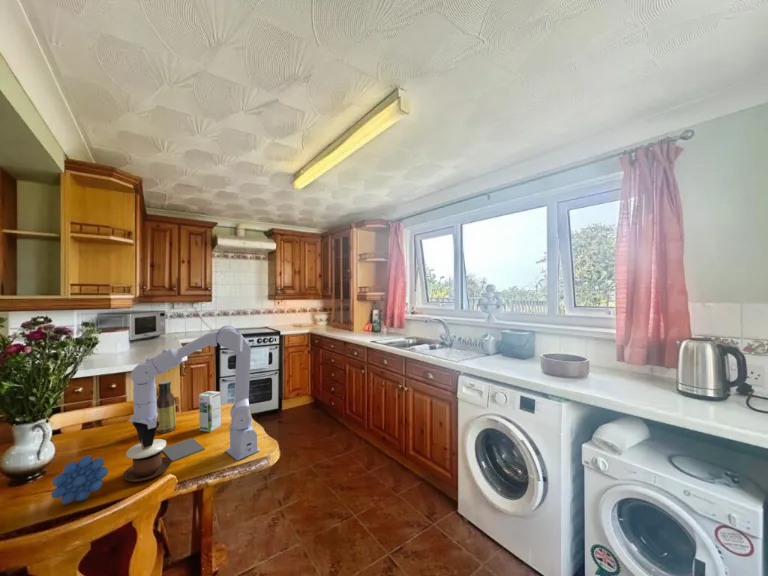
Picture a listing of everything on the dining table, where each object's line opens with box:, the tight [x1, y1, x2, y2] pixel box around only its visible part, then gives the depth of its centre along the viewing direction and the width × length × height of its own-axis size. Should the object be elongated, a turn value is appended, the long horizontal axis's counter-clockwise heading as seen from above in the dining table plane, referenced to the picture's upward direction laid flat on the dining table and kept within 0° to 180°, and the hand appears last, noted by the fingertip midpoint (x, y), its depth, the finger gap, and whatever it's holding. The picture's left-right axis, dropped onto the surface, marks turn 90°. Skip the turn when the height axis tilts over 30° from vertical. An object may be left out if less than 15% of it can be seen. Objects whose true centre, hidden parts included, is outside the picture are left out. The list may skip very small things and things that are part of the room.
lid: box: [125, 438, 167, 460], centre depth 99 cm, size 10×10×5 cm
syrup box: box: [198, 390, 222, 433], centre depth 129 cm, size 6×6×14 cm
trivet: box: [162, 437, 206, 463], centre depth 113 cm, size 12×10×1 cm
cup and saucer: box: [123, 451, 172, 483], centre depth 99 cm, size 12×12×6 cm
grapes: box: [51, 455, 109, 505], centre depth 88 cm, size 12×7×12 cm, turn 119°
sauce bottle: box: [156, 380, 177, 434], centre depth 128 cm, size 6×6×20 cm
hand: (146, 444), depth 99 cm, fingers closed on lid, 3 cm apart
